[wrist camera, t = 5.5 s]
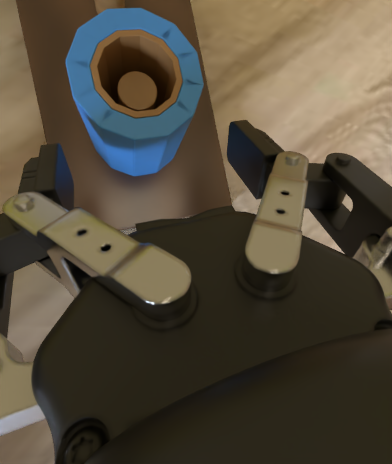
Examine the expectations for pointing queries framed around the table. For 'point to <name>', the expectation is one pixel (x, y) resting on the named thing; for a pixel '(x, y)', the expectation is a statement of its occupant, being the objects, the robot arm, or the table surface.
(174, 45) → the tape roll
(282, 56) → the table surface
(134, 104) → the tape rack
